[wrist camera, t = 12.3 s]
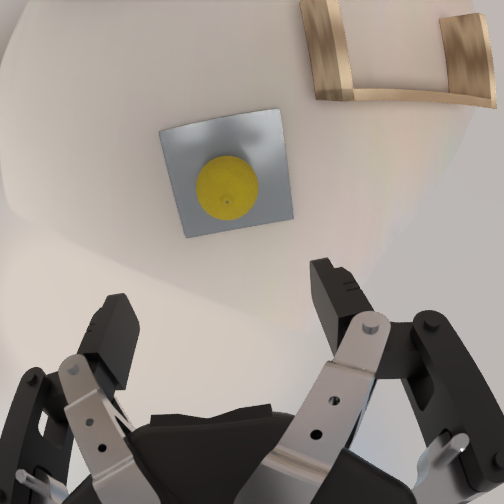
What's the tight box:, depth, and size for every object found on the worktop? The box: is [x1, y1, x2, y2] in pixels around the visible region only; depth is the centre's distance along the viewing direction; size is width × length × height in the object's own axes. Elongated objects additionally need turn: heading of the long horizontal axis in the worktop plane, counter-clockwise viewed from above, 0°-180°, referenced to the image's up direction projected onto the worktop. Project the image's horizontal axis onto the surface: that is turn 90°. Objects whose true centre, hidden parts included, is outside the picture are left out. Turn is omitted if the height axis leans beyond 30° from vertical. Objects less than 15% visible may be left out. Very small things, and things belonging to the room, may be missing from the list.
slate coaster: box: [159, 108, 294, 238], centre depth 30 cm, size 12×12×1 cm
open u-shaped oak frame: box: [300, 0, 497, 109], centre depth 21 cm, size 11×19×8 cm, turn 99°
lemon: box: [196, 156, 259, 220], centre depth 26 cm, size 6×6×8 cm
